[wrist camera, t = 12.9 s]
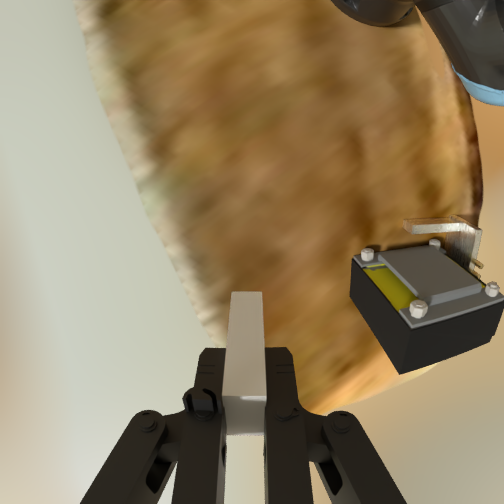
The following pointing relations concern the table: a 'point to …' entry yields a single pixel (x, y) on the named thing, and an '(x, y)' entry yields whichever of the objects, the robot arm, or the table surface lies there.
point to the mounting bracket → (452, 238)
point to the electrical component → (423, 304)
